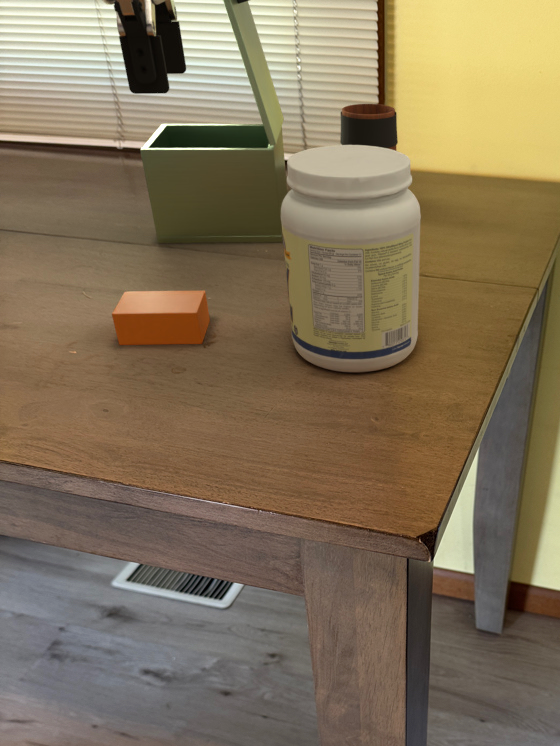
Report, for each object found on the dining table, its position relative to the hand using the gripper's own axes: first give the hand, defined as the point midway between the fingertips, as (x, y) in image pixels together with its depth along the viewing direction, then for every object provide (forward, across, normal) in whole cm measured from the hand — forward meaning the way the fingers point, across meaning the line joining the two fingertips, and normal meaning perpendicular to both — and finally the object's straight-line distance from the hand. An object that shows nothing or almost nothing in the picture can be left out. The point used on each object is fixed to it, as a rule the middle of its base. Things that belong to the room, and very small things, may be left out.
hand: (160, 82), depth 67 cm
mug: (+21, -40, +19) cm, 49 cm away
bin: (+21, -27, 0) cm, 34 cm away
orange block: (+21, +6, -3) cm, 22 cm away
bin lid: (+2, -27, +6) cm, 28 cm away
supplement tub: (+21, +10, +16) cm, 29 cm away
